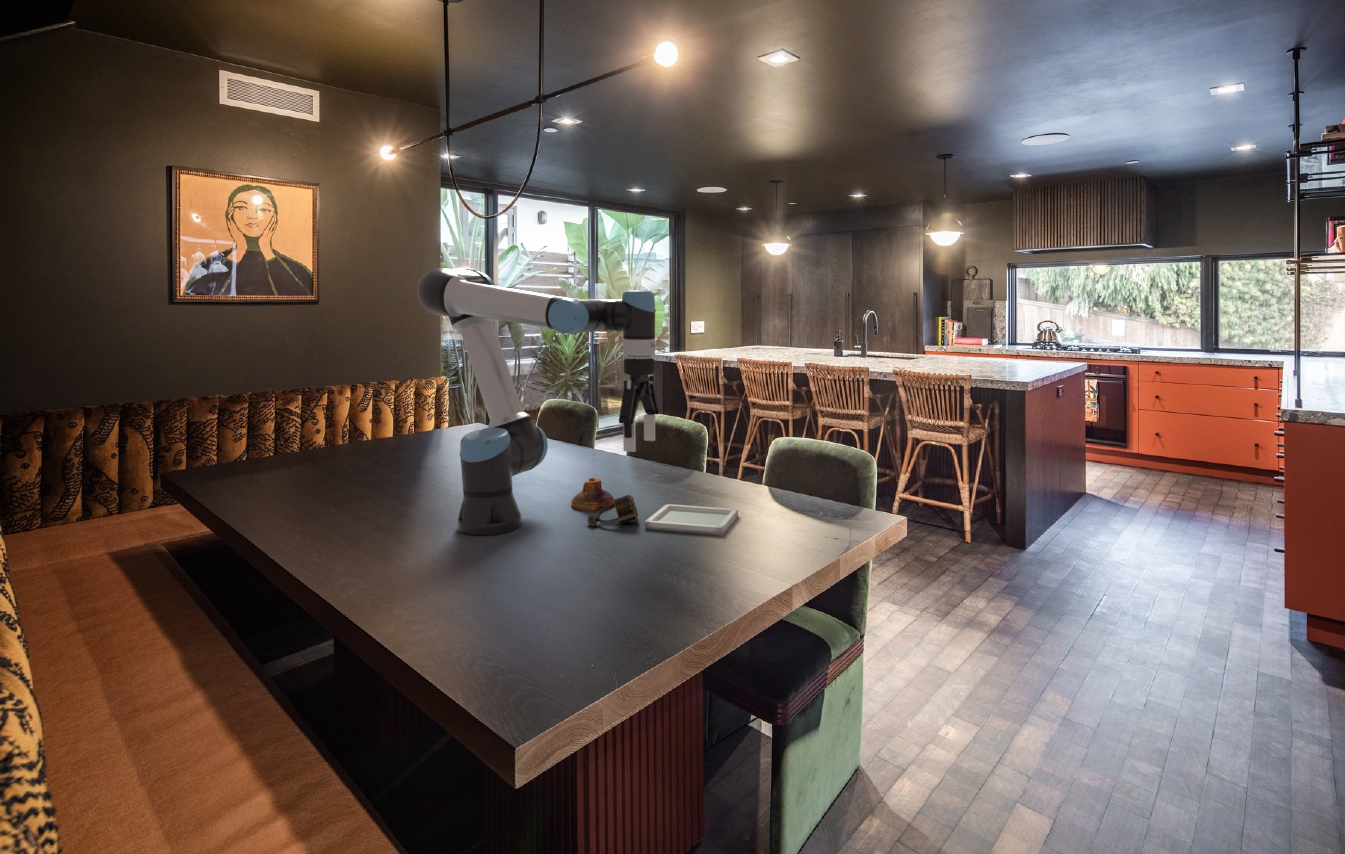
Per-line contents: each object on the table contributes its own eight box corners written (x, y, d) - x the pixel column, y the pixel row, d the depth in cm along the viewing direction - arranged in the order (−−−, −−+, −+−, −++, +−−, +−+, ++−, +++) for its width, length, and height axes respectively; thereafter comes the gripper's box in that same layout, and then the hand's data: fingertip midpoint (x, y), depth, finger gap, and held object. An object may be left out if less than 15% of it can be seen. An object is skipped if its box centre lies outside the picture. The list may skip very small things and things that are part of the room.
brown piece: (635, 509, 168) (645, 490, 177) (583, 503, 170) (595, 484, 179) (635, 535, 171) (644, 515, 180) (584, 529, 173) (595, 509, 182)
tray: (644, 528, 170) (644, 521, 170) (666, 510, 185) (666, 503, 185) (722, 535, 164) (721, 527, 164) (738, 516, 179) (738, 509, 179)
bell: (598, 513, 184) (597, 486, 183) (562, 508, 190) (561, 481, 189) (624, 503, 194) (623, 477, 193) (589, 497, 200) (588, 472, 199)
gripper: (635, 361, 155) (635, 457, 158) (671, 354, 178) (671, 437, 182) (603, 360, 157) (604, 454, 161) (642, 353, 180) (643, 435, 184)
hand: (639, 445), depth 171 cm, fingers open, 13 cm apart
